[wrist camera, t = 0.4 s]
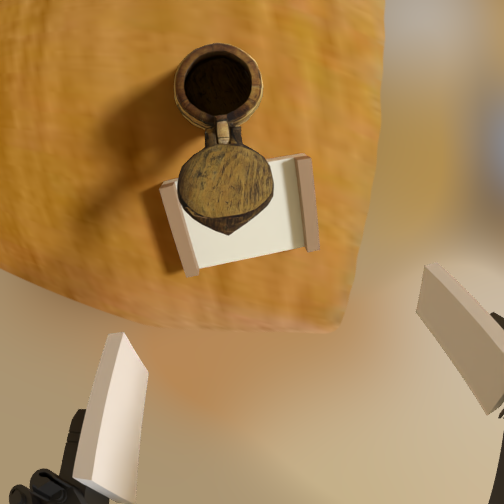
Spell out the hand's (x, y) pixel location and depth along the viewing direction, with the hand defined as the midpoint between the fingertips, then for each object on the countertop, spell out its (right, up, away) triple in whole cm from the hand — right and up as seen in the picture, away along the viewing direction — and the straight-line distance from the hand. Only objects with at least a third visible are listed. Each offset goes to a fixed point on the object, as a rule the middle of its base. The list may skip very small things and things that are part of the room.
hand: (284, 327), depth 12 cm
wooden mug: (-5, +18, +18) cm, 26 cm away
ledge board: (-2, +8, +23) cm, 25 cm away
